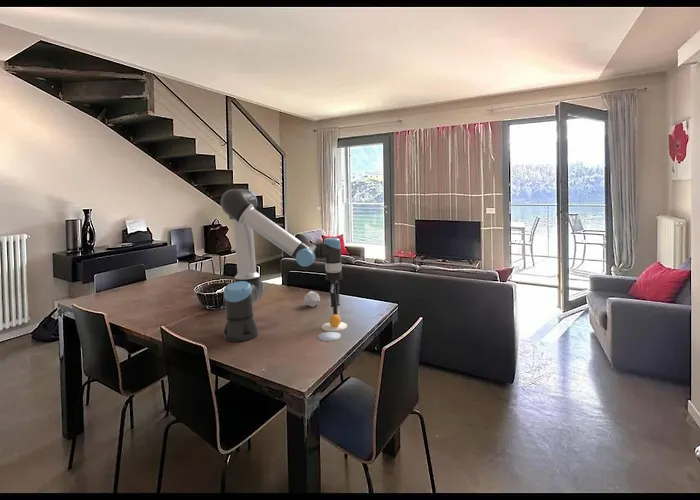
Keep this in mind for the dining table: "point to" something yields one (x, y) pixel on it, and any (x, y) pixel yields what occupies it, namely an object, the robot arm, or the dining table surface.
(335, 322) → the ball
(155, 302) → the dining table surface
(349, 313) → the dining table surface
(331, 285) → the robot arm
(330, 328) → the disc
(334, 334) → the disc
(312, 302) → the die
